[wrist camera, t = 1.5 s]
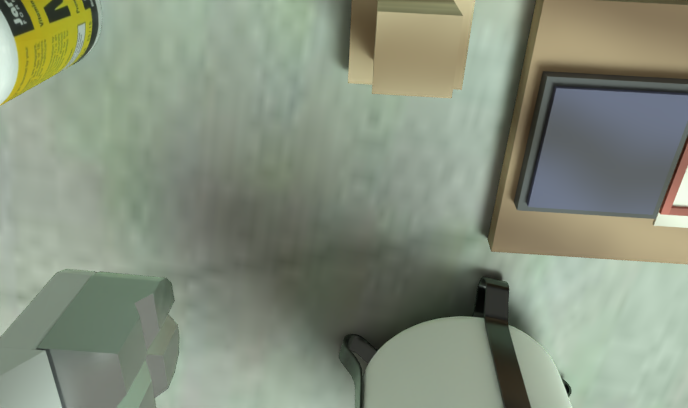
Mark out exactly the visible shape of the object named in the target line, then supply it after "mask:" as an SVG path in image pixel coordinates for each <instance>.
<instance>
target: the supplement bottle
mask: <svg viewBox="0 0 688 408" xmlns="http://www.w3.org/2000/svg"><path fill="white" fill-rule="evenodd" d="M101 26H102V10H101V4H100V0H0V106H1V105H2V104H4V103H6V102H8V101H9V100H11V99H13V98H15V97H17V96H18V95H20V94H22V93H24V92H25V91H27V90H29V89H31V88H32V87H34V86H36V85H38V84H39V83H41V82H43V81H45V80H47V79H49V78H50V77H52V76H54V75H55V74H57V73H59V72H61V71H63V70H64V69H66V68H68V67H70V66H71V65H73V64H75V63H77V62H78V61H80V60H81V59H83V58H84V57H85V56H86V55H88V54H89V53H90V51H91V50H92V49H93V47H94V46H95V44H96V42H97V40H98V38H99V35H100V31H101Z"/></svg>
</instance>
